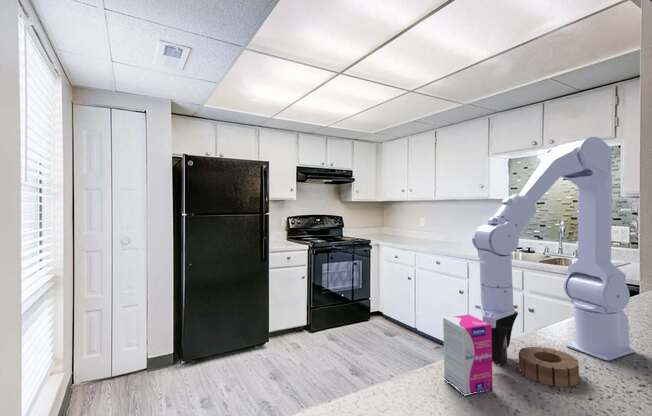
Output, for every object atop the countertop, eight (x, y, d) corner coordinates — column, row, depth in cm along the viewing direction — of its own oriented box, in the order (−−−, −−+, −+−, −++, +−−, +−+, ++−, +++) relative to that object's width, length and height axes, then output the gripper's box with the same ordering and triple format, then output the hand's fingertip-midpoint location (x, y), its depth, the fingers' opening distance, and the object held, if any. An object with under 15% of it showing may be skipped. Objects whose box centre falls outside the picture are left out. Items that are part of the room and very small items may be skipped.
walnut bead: (541, 358, 66) (540, 343, 66) (591, 379, 58) (590, 362, 58) (508, 367, 63) (508, 352, 63) (556, 391, 54) (555, 373, 54)
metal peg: (498, 357, 67) (497, 328, 67) (510, 363, 64) (509, 333, 64) (488, 360, 66) (487, 330, 66) (500, 366, 63) (499, 335, 63)
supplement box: (465, 398, 54) (462, 328, 54) (443, 380, 59) (441, 317, 59) (495, 391, 55) (492, 323, 55) (470, 374, 61) (468, 313, 61)
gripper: (483, 276, 74) (486, 336, 73) (464, 290, 62) (467, 361, 62) (519, 279, 69) (522, 343, 69) (506, 294, 58) (509, 372, 58)
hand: (498, 352), depth 65 cm, fingers open, 7 cm apart
